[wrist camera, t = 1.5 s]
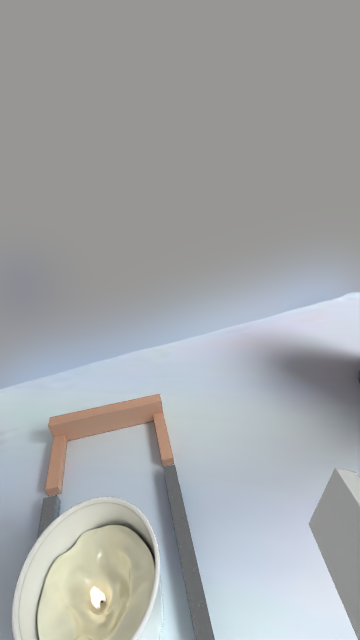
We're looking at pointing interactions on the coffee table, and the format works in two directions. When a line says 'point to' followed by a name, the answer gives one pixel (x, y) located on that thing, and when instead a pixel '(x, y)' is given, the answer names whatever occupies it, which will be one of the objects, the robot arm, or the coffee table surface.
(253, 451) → the coffee table surface
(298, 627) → the coffee table surface
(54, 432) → the orange u-shaped bracket
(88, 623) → the candle holder
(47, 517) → the guide rails
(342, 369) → the coffee table surface
